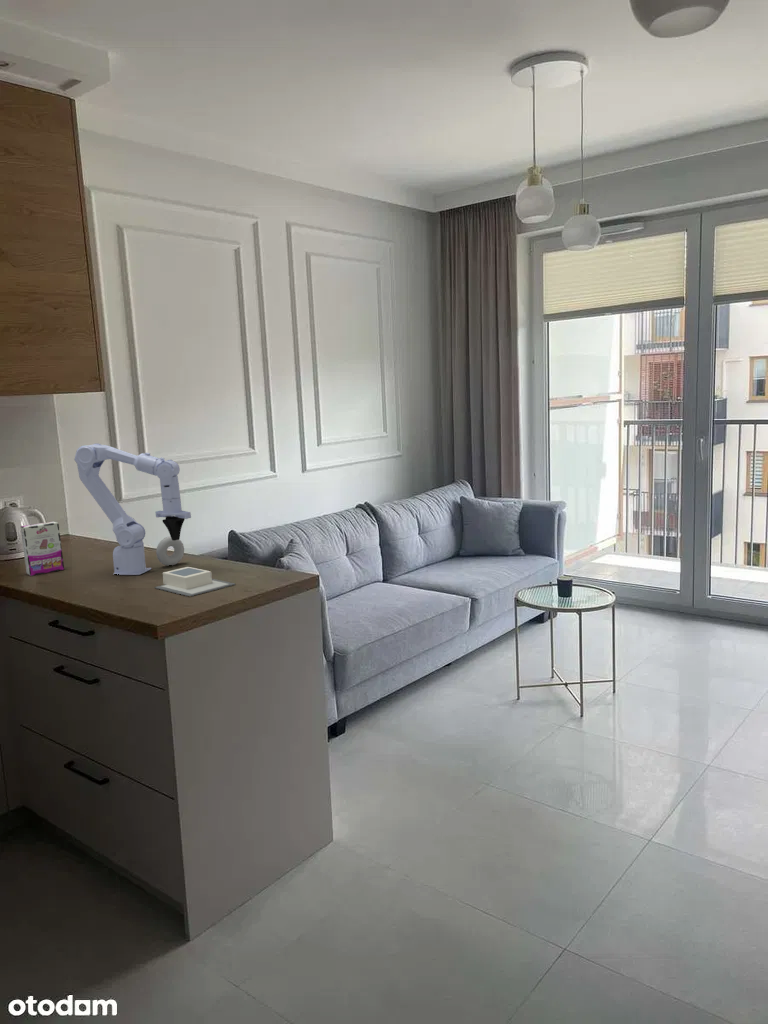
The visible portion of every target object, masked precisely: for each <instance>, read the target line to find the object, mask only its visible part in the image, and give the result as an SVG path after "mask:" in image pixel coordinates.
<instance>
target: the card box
mask: <svg viewBox="0 0 768 1024" xmlns="http://www.w3.org/2000/svg"><path fill="white" fill-rule="evenodd" d="M212 575H213V574H212V571H211V570H210V571H209V570H206V569H200V568H196V567H190V566H185V567H181V568H176V569H172V570H169V571H164V572H162V580H163V581H162V582H163V583H162V584H163V585H165V584H166V585H170V586H174V587H178V588H182V589H186V590H187V589H190V588H194V587H198V586H202V585H206V584H210V583H212V579H213V578H212Z"/></svg>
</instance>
